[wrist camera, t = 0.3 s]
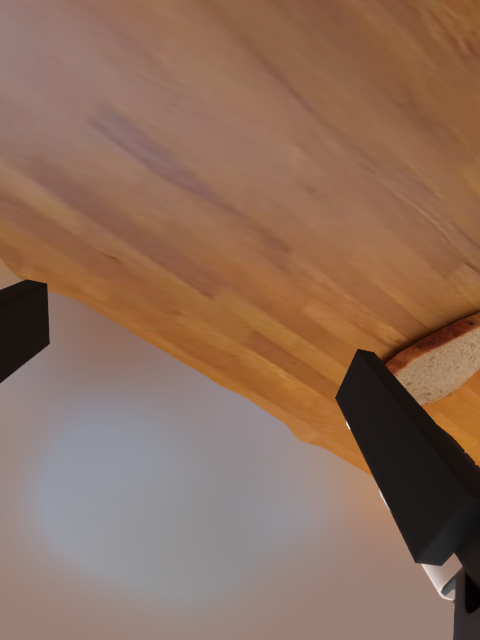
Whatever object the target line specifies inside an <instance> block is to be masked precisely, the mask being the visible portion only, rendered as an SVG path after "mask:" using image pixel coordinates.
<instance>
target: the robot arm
mask: <svg viewBox="0 0 480 640" xmlns="http://www.w3.org/2000/svg"><path fill="white" fill-rule="evenodd" d="M47 294H48V291H47V284H46V283H42V282H37V281H32V280H27V279H26V280H24V281H21V282H19V283H16V284H14V285H12V286H9V287H7V288H4V289H2V290H0V383H1V382H2V381H4V380H5V379H6V378H7V377H9V376H10V375H11V374H12V373H14V372H15V371H16V370H17V369H18V368H20V367H21V366H22V365H24V364H25V363H26V362H27V361H29V360H30V359H31V358H32V357H34V356H35V355H36V354H37V353H39V352H40V351H41V350H43V349H44V348H45V347H46V346H48V345H49V344H50V342H49V317H48V295H47ZM335 399H336V401H337V403H338V405H339V407H340V409H341V411H342V413H343V415H344V417H345V419H346V421H347V423H348V425H349V427H350V429H351V431H352V433H353V436H354V438H355V440H356V442H357V444H358V446H359V448H360V450H361V452H362V454H363V456H364V458H365V460H366V462H367V464H368V466H369V468H370V470H371V473H372V475H373V477H374V479H375V481H376V483H377V485H378V487H379V489H380V491H381V493H382V495H383V497H384V499H385V501H386V503H387V505H388V507H389V510H390V512H391V514H392V515H393V518H394V520H395V522H396V524H397V526H398V528H399V530H400V532H401V534H402V536H403V538H404V540H405V542H406V544H407V546H408V549H409V551H410V552H411V555H412V557H413V559H414V561H415V563H420V564H428V565H435V566H442V565H443V564H444V563H445V562H446V561H447V560H448V559H449V558H450V557H451V556H452V554H453V553H455V555H456V556H457V558H458V560H459V561H460V563H461V564H462V566H463V567H462V568H461V569H460V570H459V571H458V572H457V573H456V574H455V575H454V576H453V577H452V578H451V579H450V580H449V581H448V582H447V583H446V584H445V585H444V586H443V588H442V590H441V593H442V594H443V595H444V596H446V595H447V594H448V593H449V592H450V591H451V590H455V599H454V600H453V603H454V604H455V611H454V635H453V640H480V467H479V466H478V465H475V462H474V461H473V459H472V458H471V457H470V456H469V455H468V454H467V453H465V452H464V451H465V450H464V449H463V448H462V447H461V446H460V445H459V444H458V443H457V442H456V440H455V439H454V438H453V437H452V436H451V435H449V434H448V433H447V432H446V431H444V430H443V429H442V428H441V427H439V426H438V425H437V424H436V423H435V422H434V420H433V419H432V418H431V417H430V416H429V415H428V414H427V412H426V411H425V410H424V409H423V408H422V407H421V406H420V404H419V403H418V402H417V401H416V400H415V399H414V398H413V396H412V395H411V394H410V393H409V392H408V391H407V390H406V388H405V387H404V386H403V385H402V384H401V383H400V382H399V380H398V379H397V378H396V377H395V376H394V375H393V374H392V372H391V371H390V370H389V369H388V368H387V367H386V366H385V364H384V363H383V362H382V361H381V360H380V359H379V358H378V356H377V355H376V354H375V353H374V352H370V351H366V350H361V349H358V350H357V352H356V354H355V356H354V358H353V360H352V363H351V365H350V367H349V369H348V371H347V373H346V376H345V378H344V380H343V382H342V384H341V386H340V389H339V391H338V393H337V395H336V397H335Z"/></svg>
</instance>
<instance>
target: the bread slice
mask: <svg viewBox="0 0 480 640" xmlns="http://www.w3.org/2000/svg"><path fill="white" fill-rule="evenodd" d="M385 366H386V367H387V368H388V369H389V370H390V371H391V372H392V374H393V375H394V376H395V377H396V378H397V379H398V380H399V382H400V383H401V384H402V385H403V386H404V387H405V388H406V390H407V391H408V392H409V393H410V394H411V395H412V396H413V398H414V399H415V400H416V401H417V402H418V403H419V404H420V406H424V405H427V404H430V403H433V402H436V401H438V400H439V399H441V398H445V397H446V396H447V395H448V394H450V393H453V392H454V391H456V390H457V389H459V388H460V387H461V386H463V385H464V384H465V383H466V381H467V380H468V379H469V377H471V376H472V375H473V374H474V373H475V372H477V371H478V370H480V312H478V313H476V314H475V315H471V316H468V317H466V318H464V319H460V320H457V321H456V322H455V323H453V324H450V325H447V326H445V327H444V328H443V329H441V330H439V331H437V332H435V333H433V334H432V335H430V336H427V337H425V338H423V339H422V340H420V341H418V342H416V343H414V344H413V345H411V346H409V347H408V348H406V349H405V350H403V351H401V352H399V353H398V354H397V355H395V356H394V357H393V358H392V359H391V360H390V361H388V362H387V363H386V364H385Z"/></svg>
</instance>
